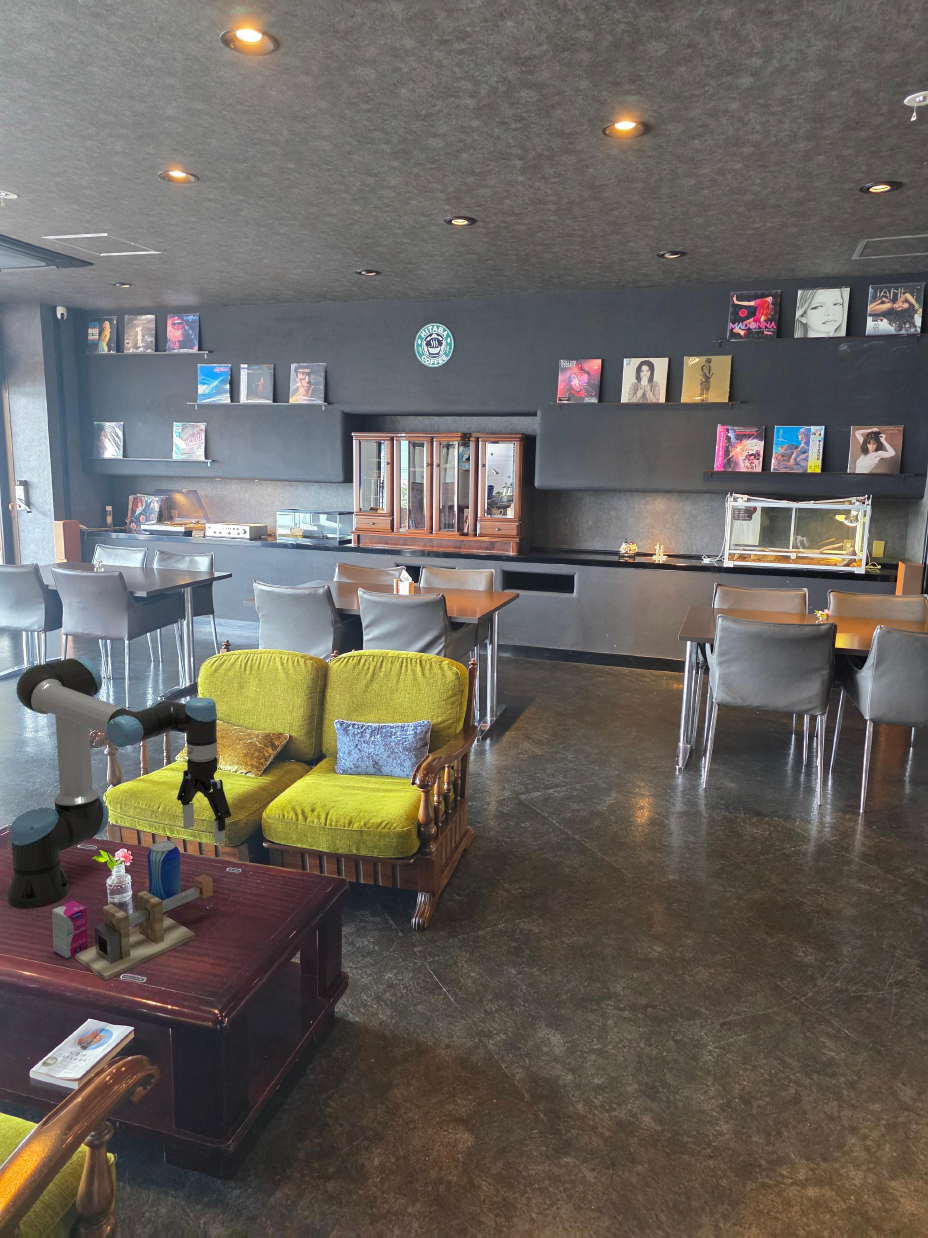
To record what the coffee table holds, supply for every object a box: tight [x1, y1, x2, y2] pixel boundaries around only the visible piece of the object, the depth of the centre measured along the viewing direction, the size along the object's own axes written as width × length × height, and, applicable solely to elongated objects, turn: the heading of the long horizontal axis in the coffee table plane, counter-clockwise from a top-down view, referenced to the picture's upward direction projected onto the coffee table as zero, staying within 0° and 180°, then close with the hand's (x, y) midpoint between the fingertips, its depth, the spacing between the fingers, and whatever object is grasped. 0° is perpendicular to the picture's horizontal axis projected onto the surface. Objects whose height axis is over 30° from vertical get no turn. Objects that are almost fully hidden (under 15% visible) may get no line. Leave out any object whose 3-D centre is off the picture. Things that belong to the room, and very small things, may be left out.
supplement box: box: [51, 900, 89, 960], centre depth 200 cm, size 6×6×12 cm
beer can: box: [147, 840, 182, 901], centre depth 226 cm, size 8×8×16 cm
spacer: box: [94, 922, 121, 964], centre depth 196 cm, size 7×2×7 cm, turn 52°
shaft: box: [128, 874, 214, 928], centre depth 209 cm, size 4×23×4 cm, turn 142°
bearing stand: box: [74, 890, 196, 982], centre depth 202 cm, size 14×24×12 cm, turn 142°
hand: (204, 834), depth 216 cm, fingers open, 13 cm apart
